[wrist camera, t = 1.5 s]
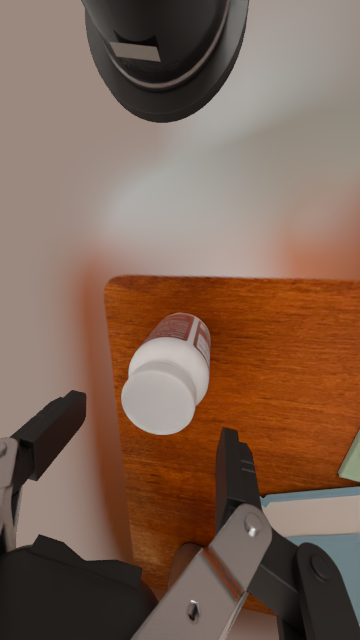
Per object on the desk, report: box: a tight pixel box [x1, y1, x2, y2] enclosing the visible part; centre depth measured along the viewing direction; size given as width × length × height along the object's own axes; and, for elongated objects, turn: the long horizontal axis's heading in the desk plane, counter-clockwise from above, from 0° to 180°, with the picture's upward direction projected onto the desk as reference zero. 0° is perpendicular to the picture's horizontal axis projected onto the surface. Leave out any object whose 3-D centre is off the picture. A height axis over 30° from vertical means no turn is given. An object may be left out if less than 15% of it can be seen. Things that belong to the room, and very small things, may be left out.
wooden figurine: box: [167, 543, 202, 592], centre depth 26 cm, size 7×6×15 cm
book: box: [260, 486, 360, 626], centre depth 26 cm, size 23×16×5 cm
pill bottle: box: [121, 313, 211, 435], centre depth 18 cm, size 6×6×11 cm
